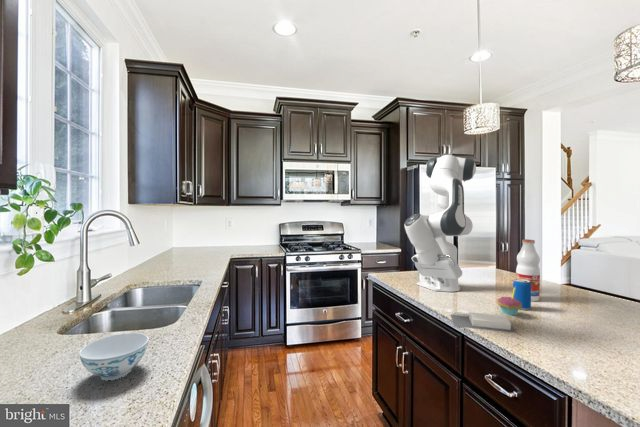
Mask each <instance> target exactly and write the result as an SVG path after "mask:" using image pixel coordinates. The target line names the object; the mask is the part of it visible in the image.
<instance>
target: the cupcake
mask: <svg viewBox="0 0 640 427" xmlns="http://www.w3.org/2000/svg"><path fill="white" fill-rule="evenodd" d="M515 287H516V286H515ZM515 289H516V288H514V289H513V288H512V293H511V294H512V295H511V296H502V297H500V298H498V299H497V301H496V304H497V305H498V306H499V307H500V310H501V313H502V314H503V315H507V316H517V314H518V312H519V310H521V309H520V308H521V307H522V303H521V302H520V301H519V300H517V299H515V298H514V294H515Z"/></svg>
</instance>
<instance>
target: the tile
mask: <svg viewBox="0 0 640 427" xmlns="http://www.w3.org/2000/svg"><path fill="white" fill-rule="evenodd" d="M468 316H469V319H470V321H471V323H472V325H473V326H478V327H488V328H497V329H507V330H511V325H512V323H511V321H510V320H509V319H508V318H507V316H506V315H505V314H497V313H496V314H493V313H484V312H483V313H482V312H473V311H472V312H471V311H469V312H468Z"/></svg>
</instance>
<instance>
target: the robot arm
mask: <svg viewBox="0 0 640 427" xmlns="http://www.w3.org/2000/svg"><path fill="white" fill-rule="evenodd" d="M476 172H477V165H476V162H475V160H474V159H473V158H469V157H459V156H454V155H452V154H445V155H442V156H440V157H437V156H435V157H431V158H429V159H428V161H427V162H426V164H425V173H426V176H427V177H428V178H430V179H429V181H430V182H429V186H430V188H431V190H432V191H433V192H434V193H435V194H437V200H436V201H437V205H438V206H439V207H440V208H441V209H443V210H442V211H439V212H435V213H430V214H421V213H416V214H412V215H410V216H409V217H408V218H407V219H406V220H405V221H404V224H403V225H404V231H405V233H406V235H407V238H408V240H409V241H410V243H411V245H413V247H414V249H415V253H416V254H414V255H413V256H412V257H411V260H412V262H413V263H414V266H415V268H416V269H417V272H418V273H419V274H420V275H421V279H420V280H419V281H417V282H416V285H418V286H420V287H422V288H425V289H428V290H431V291H434V292H458V291H460V290H461V286H460V283H459V278H461V277H462V276H463V270H462V268H461V267H460V265H459V263H458V248H457V247H456V245H454V244H453V243H451V242H449V241H447V238H446V237H462V236H466V235H467V236H468V235H469V234H470V233H472V230H473V228H474V225H473V221H472V220H471V218H470V217H469V216H468V215H466V214H465V189H464V185H463V182H467V181H470V180H471V179H473V178H474V176H475V175H476Z"/></svg>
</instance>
